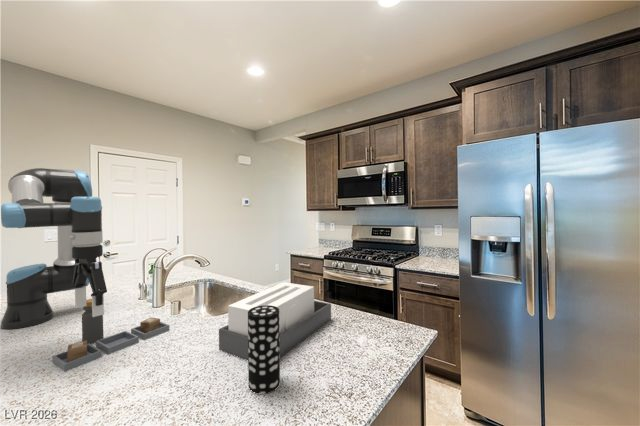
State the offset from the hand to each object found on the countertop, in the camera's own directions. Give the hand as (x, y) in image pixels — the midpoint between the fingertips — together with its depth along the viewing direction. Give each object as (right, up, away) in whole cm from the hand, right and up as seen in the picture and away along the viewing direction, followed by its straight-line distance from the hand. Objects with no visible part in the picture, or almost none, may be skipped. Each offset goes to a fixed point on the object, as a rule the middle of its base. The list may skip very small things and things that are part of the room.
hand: (89, 311), depth 90 cm
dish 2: (+4, -15, +7) cm, 17 cm away
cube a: (+10, -14, +17) cm, 24 cm away
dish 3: (+10, -14, +17) cm, 24 cm away
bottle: (-7, -15, +10) cm, 19 cm away
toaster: (+59, -14, +15) cm, 62 cm away
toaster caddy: (+59, -14, +16) cm, 63 cm away
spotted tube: (+59, -15, -14) cm, 62 cm away
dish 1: (-2, -15, -2) cm, 15 cm away
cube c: (-2, -14, -2) cm, 15 cm away
